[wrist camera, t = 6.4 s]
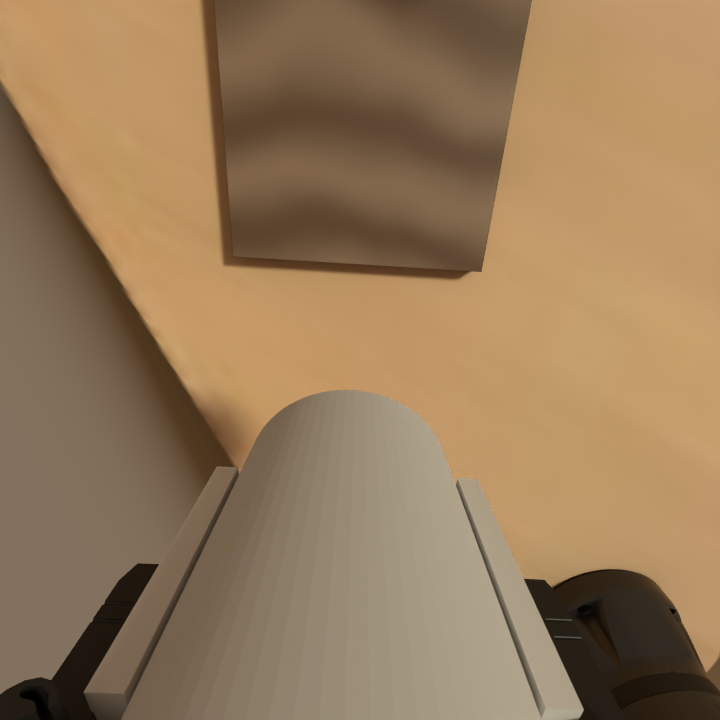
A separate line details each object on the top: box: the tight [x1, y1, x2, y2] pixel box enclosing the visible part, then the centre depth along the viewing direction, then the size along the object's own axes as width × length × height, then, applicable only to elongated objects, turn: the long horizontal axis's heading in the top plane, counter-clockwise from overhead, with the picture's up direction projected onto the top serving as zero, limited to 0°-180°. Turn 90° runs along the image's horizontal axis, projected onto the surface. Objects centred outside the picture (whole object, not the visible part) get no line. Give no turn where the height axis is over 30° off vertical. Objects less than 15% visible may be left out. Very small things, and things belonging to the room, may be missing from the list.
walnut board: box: [214, 0, 532, 272], centre depth 23 cm, size 16×18×2 cm
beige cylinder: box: [121, 390, 542, 720], centre depth 9 cm, size 8×8×12 cm
